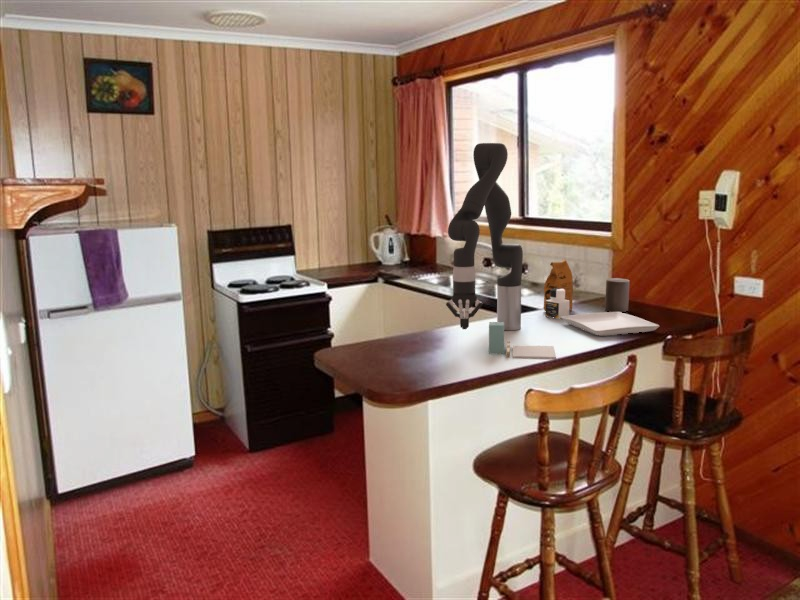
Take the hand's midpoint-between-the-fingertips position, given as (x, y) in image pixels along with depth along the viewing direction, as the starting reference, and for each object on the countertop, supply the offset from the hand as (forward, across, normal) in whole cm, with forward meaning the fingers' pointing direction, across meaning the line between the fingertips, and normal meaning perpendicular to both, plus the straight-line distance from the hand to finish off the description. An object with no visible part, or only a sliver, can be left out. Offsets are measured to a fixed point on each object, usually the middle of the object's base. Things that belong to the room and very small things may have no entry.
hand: (464, 328), depth 231 cm
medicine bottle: (+8, -35, -58) cm, 68 cm away
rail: (+8, -15, 0) cm, 17 cm away
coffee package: (+8, -36, -70) cm, 79 cm away
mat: (+8, -23, 0) cm, 25 cm away
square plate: (+9, -53, -38) cm, 66 cm away
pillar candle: (+8, -61, -71) cm, 94 cm away
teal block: (+8, -11, 0) cm, 14 cm away
